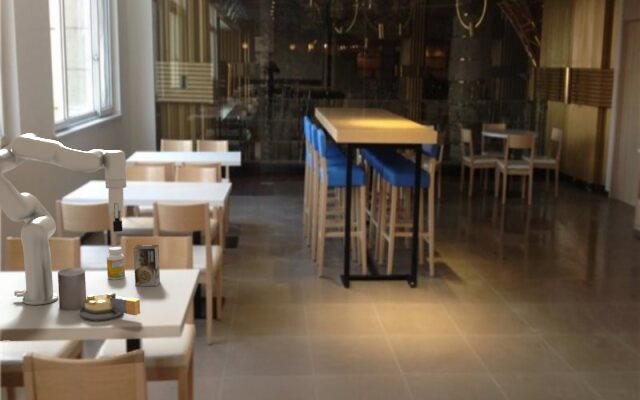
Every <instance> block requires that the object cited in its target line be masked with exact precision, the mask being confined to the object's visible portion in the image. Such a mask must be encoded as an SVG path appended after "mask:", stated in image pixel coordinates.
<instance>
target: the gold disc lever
mask: <svg viewBox="0 0 640 400" xmlns="http://www.w3.org/2000/svg"><path fill="white" fill-rule="evenodd" d="M84 310H85V312H87V313H91V314H104V313H109V312H113V311H115V312H121V313H123V314H126V315H129V316H137V315H139V314H141V299H140V298H134V297H126V296H121V295H120V296H119V295H117V294H116V293H115V292H114V293H113V292H108V293H106V294H102V295H101V294H99V295H94V294H90V295H86V300H85V301H84Z"/></svg>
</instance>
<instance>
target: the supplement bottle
mask: <svg viewBox="0 0 640 400" xmlns="http://www.w3.org/2000/svg"><path fill="white" fill-rule="evenodd" d="M122 252H123V249H122V247H121V246H112V247H109V248H108V253H109V254H108V255H107V256H106V269H107V270H106V271H107V278H108V279H109V280H113V281H114V280H121V279H124V278H126V268H125V267H126V265H125V254H123V253H122Z"/></svg>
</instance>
